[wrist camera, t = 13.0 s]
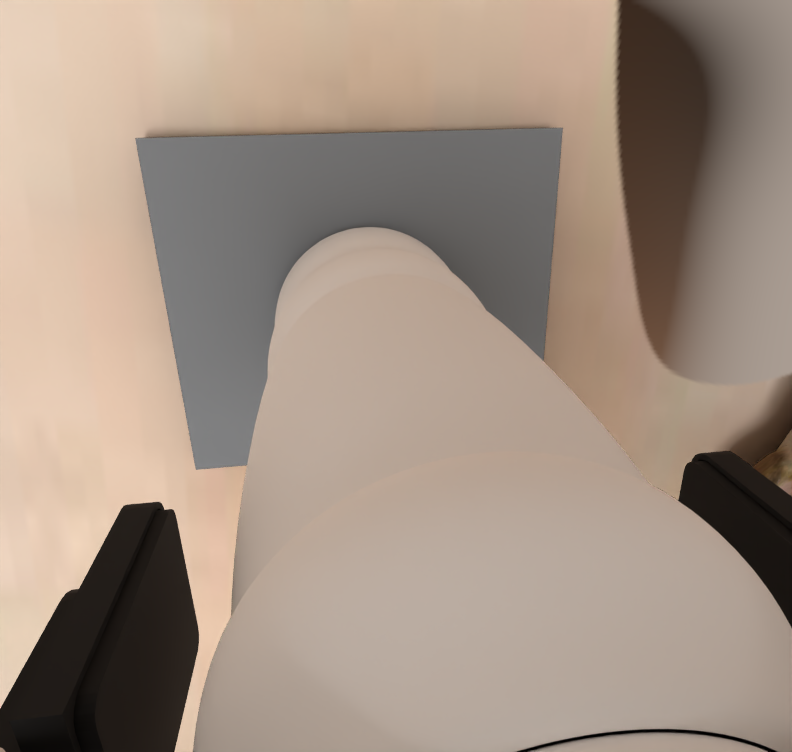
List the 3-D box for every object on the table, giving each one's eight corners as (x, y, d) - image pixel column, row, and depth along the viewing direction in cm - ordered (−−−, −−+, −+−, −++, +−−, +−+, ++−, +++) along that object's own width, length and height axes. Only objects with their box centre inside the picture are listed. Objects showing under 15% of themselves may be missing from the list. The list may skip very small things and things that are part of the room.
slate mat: (550, 127, 22) (562, 127, 21) (528, 427, 27) (536, 439, 26) (144, 138, 21) (135, 138, 20) (200, 455, 26) (196, 469, 25)
